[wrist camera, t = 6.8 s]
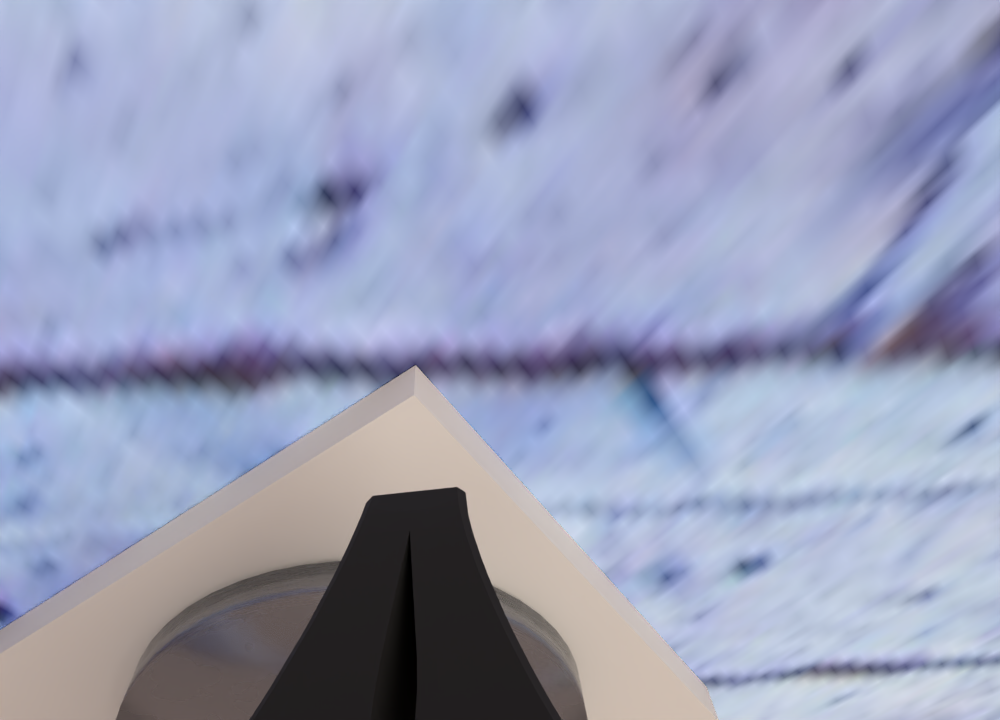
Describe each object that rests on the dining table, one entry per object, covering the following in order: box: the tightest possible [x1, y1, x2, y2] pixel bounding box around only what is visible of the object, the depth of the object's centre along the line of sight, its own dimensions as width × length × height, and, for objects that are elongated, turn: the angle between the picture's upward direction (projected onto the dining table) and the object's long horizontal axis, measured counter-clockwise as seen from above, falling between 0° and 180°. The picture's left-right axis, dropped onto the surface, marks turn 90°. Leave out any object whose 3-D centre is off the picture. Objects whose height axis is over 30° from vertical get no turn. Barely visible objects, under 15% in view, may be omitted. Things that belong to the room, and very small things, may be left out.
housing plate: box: [0, 365, 718, 720], centre depth 26 cm, size 20×20×2 cm
